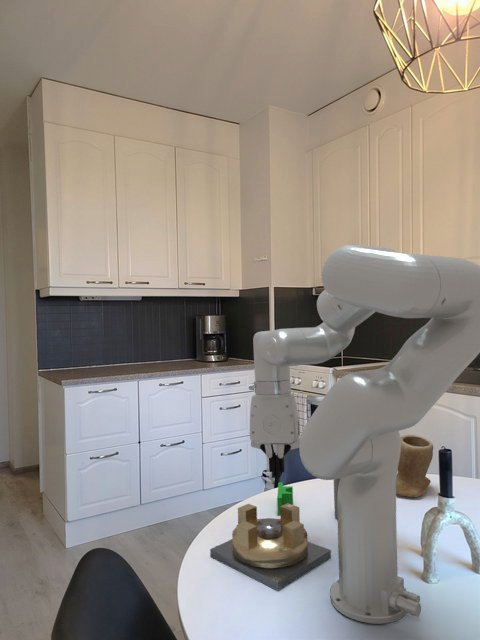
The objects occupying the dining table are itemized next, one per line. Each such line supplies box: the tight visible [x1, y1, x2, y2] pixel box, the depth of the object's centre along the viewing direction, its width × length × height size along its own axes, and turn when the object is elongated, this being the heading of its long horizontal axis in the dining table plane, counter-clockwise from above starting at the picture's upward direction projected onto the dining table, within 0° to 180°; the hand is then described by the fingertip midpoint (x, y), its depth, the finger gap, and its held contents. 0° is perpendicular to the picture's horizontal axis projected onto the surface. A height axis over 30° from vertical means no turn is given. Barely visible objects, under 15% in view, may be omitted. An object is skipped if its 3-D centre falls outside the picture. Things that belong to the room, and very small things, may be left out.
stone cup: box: [396, 434, 434, 498], centre depth 130 cm, size 15×12×15 cm
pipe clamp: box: [276, 482, 294, 517], centre depth 121 cm, size 11×4×5 cm, turn 174°
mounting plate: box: [209, 539, 332, 592], centre depth 95 cm, size 18×16×2 cm
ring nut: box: [231, 503, 309, 568], centre depth 95 cm, size 15×15×7 cm
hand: (277, 475), depth 100 cm, fingers closed
